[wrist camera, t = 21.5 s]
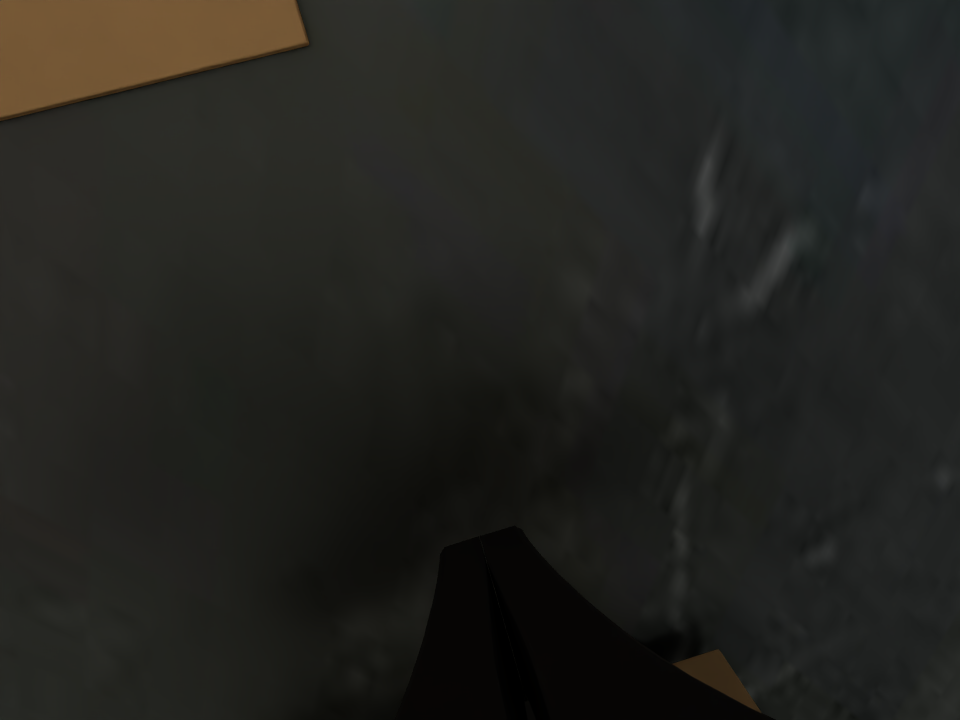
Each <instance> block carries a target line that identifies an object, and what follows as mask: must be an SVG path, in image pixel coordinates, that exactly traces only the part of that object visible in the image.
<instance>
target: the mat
mask: <svg viewBox="0 0 960 720" xmlns="http://www.w3.org/2000/svg"><path fill="white" fill-rule="evenodd" d="M308 45H309V40H308V37H307V33H306V30H305V27H304V23H303V20H302V17H301V13H300V10H299V7H298V3H297V0H0V121H3V120H7V119H11V118H15V117H19V116H23V115H28V114H32V113H36V112H40V111H44V110H48V109H52V108H56V107H60V106H64V105H68V104H72V103H77V102H81V101H85V100H89V99H93V98H97V97H101V96H105V95H109V94H113V93H117V92H121V91H125V90H130V89H134V88H138V87H142V86H146V85H150V84H154V83H158V82H162V81H166V80H170V79H174V78H179V77H183V76H187V75H191V74H195V73H199V72H203V71H207V70H211V69H215V68H219V67H223V66H228V65H232V64H236V63H240V62H244V61H248V60H252V59H256V58H260V57H264V56H268V55H272V54H276V53H281V52H285V51H289V50H293V49H297V48H301V47H305V46H308Z"/></svg>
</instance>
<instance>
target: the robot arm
mask: <svg viewBox="0 0 960 720" xmlns="http://www.w3.org/2000/svg"><path fill="white" fill-rule="evenodd" d="M480 538H481V542H482V545H481V542H480ZM480 538H479V537H475V538H472V539H469V540H465V541H462V542H459V543H456V544H452V545H449V546H446V547H444V549H443V550H442V552H441V553H440V563H439V571H438V578H437V584H436V589H435V594H434V599H433V604H432V608H431V612H430V615H429V619H428V623H427V627H426V631H425V635H424V638H423V642H422V645H421V648H420V651H419V654H418V657H417V660H416V663H415V666H414V669H413V672H412V675H411V678H410V681H409V684H408V687H407V689H406V692H405V695H404V697H403V700H402V702H401V705H400V707H399V710H398V712H397V715H396V717H395V719H394V720H527V714H526V708H525V703H524V697H523V692H522V686H521V682H520V678H521V681H522V685H523V687H524V690H525V692H526V695H527V698H528V700H529V703H530V705H531V708H532V711H533V713H534V716H535V718H536V720H775V719H773V718H771V717H769V716H767V715H765V714H762V713H760V712H758V711H756V710H754V709H752V708H750V707H748V706H746V705H744V704H742V703H740V702H739V701H737V700H735V699H733V698H731V697H729V696H727V695H726V694H724V693H722V692H720V691H718V690H716V689H714V688H713V687H711V686H709V685H707V684H705V683H703V682H702V681H700V680H698V679H696V678H694V677H692V676H691V675H689V674H687V673H686V672H684V671H683V670H681V669H679V668H678V667H676V666H675V665H673V664H671V663H670V662H668V661H667V660H665V659H663V658H662V657H660V656H659V655H657V654H656V653H655V652H653V651H652V650H650V649H649V648H647V647H646V646H644V645H643V644H641V643H640V642H638V641H637V640H636V639H634V638H633V637H632V636H630V635H629V634H628V633H626V632H625V631H624V630H622V629H621V628H620V627H618V626H617V625H616V624H615V623H613V622H612V621H611V620H610V619H608V618H607V617H606V616H605V615H604V614H602V613H601V612H600V611H599V610H597V609H596V608H595V607H594V606H593V605H592V604H590V603H589V602H588V601H587V600H586V599H585V598H584V597H582V596H581V595H580V594H579V593H578V592H577V591H576V590H575V589H574V588H573V587H572V586H571V585H570V584H569V583H568V582H567V581H565V580H564V579H563V578H562V577H561V576H560V575H559V574H558V573H557V572H556V571H555V570H554V569H553V568H552V566H551V565H550V564H549V563H548V562H547V561H546V560H545V559H544V558H543V557H542V556H541V554H540V553H539V552H538V551H537V550H536V548H535V547H534V546H533V545H532V544H531V542H530V541H529V540H528V538H527V537H526V535H525V534H524V532H523V530H522V529H520V528H518V527H516V526H511V527H508V528H505V529H502V530H498V531H495V532H492V533H488V534H485V535H482V536H480ZM482 546H483V549H484V552H483V549H482ZM484 553H485V556H484ZM485 557H486V559H485ZM486 560H487V563H486ZM487 564H488V566H487ZM488 567H489V569H488ZM489 571H490V573H489ZM490 574H491V576H490ZM491 578H492V580H491ZM492 581H493V583H492ZM493 585H494V587H493ZM494 588H495V590H494ZM495 592H496V594H495ZM496 595H497V597H496ZM497 598H498V600H497ZM498 602H499V604H498ZM499 605H500V607H499ZM500 609H501V611H500ZM501 612H502V614H501ZM502 616H503V618H502ZM503 619H504V621H503ZM504 623H505V625H504ZM505 626H506V628H505ZM506 630H507V632H506ZM507 633H508V635H507ZM508 636H509V639H508ZM509 640H510V642H509ZM510 643H511V646H510ZM511 647H512V650H513V653H512V650H511ZM513 654H514V657H515V660H514V657H513ZM515 661H516V664H517V667H516V664H515ZM517 668H518V671H519V674H520V678H519V675H518V671H517Z"/></svg>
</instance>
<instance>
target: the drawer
mask: <svg viewBox="0 0 960 720" xmlns="http://www.w3.org/2000/svg"><path fill="white" fill-rule="evenodd" d="M673 665H675V666H676V667H678V668H679V669H681V670H683V671H684V672H686V673H687V674H689V675H691V676H692V677H694V678H696V679H698V680H700V681H702V682H703V683H705V684H707V685H709V686H711V687H713V688H714V689H716V690H718V691H720V692H722V693H724V694H726V695H727V696H729V697H731V698H733V699H735V700H737V701H739V702H740V703H742V704H744V705H746V706H748V707H750V708H752V709H754V710H756V711H758V712H760V713H761V711H760V710H759V708H758V707H757V705H756V704H755V702H754V701H753V699H752V698H751V696H750V695H749V693H748V692H747V690H746V689H745V687H744V686H743V684H742V683H741V681H740V680H739V678H738V677H737V675H736V674H735V672H734V671H733V669H732V668H731V666H730V665H729V664H728V662H727V661H726V659H725V658H724V656H723V655H722V653H721V652H720V650H713V651H710V652H707V653H704V654H701V655H698V656H695V657H692V658H688V659H685V660H682V661H679V662H676V663H673ZM524 703H525V708H526V714H527V720H536V718H535V716H534V713H533V711H532V708H531V705H530V703H529V701H526V702H524Z"/></svg>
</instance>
